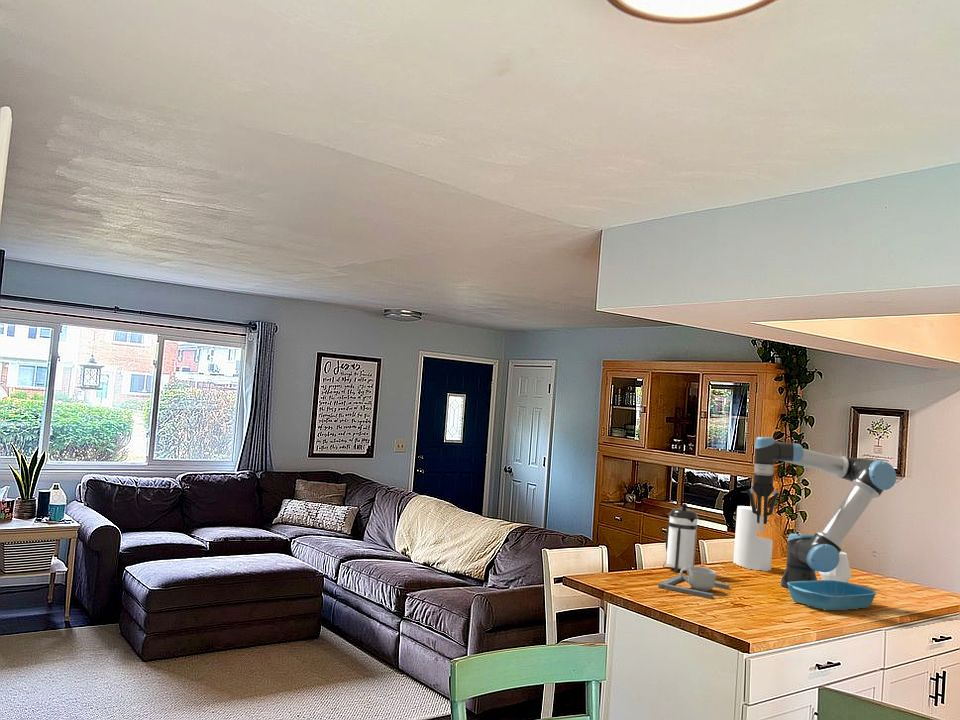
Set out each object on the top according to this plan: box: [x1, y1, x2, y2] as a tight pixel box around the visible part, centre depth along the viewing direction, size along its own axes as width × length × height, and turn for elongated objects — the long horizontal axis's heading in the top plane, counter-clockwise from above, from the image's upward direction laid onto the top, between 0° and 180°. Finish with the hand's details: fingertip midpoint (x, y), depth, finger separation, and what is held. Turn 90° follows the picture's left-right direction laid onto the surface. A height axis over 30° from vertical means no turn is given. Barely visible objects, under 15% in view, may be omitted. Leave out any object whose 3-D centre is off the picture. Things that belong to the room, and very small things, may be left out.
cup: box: [818, 551, 852, 583], centre depth 356 cm, size 13×13×14 cm
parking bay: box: [657, 574, 730, 599], centre depth 317 cm, size 21×26×2 cm
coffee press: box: [662, 502, 699, 573], centre depth 354 cm, size 17×16×30 cm
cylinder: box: [732, 505, 774, 572], centre depth 378 cm, size 17×17×28 cm
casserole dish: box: [787, 579, 877, 611], centre depth 310 cm, size 37×22×7 cm, turn 118°
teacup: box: [679, 565, 717, 592], centre depth 317 cm, size 14×11×8 cm
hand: (761, 531), depth 323 cm, fingers closed
